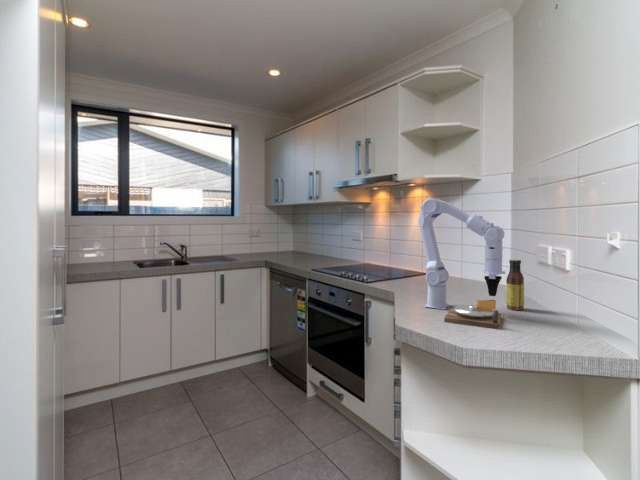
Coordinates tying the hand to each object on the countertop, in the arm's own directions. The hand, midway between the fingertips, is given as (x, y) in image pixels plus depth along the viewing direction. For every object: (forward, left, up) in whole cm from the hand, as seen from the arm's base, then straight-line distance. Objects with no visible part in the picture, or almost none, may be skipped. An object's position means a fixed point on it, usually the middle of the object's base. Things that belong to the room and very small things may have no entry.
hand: (492, 295), depth 130 cm
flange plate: (+9, -5, -5) cm, 12 cm away
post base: (+9, -6, -8) cm, 13 cm away
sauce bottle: (-16, +7, -8) cm, 19 cm away
